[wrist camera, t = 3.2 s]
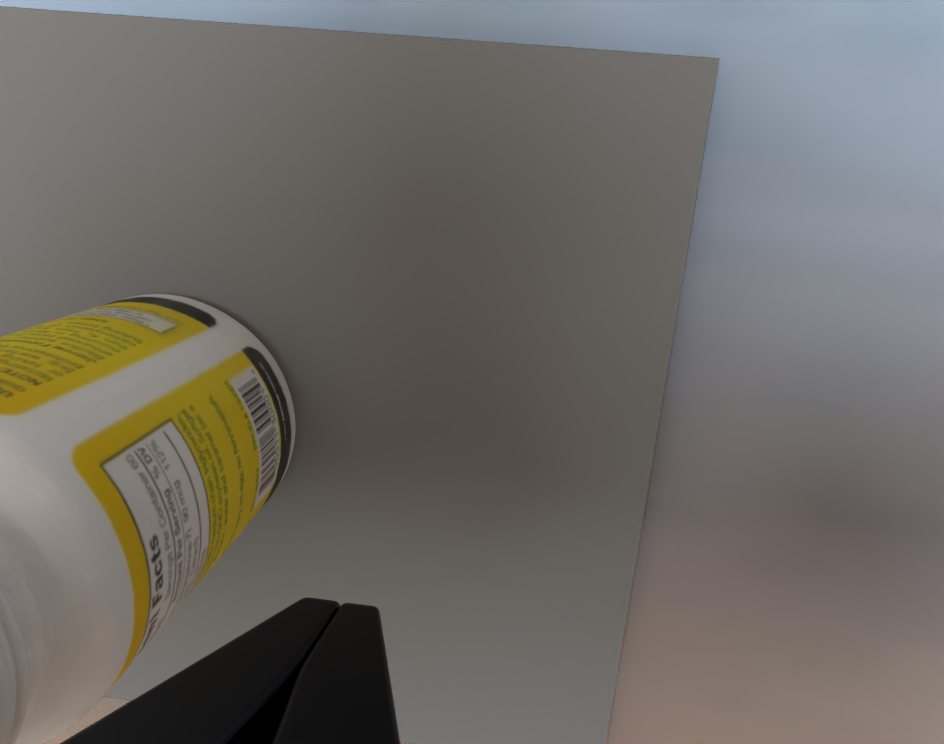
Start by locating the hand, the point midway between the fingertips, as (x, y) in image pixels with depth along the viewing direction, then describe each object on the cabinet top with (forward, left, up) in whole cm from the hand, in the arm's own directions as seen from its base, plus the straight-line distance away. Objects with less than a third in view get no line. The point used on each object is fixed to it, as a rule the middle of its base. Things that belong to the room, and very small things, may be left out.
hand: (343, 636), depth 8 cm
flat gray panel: (+6, 0, -6) cm, 8 cm away
